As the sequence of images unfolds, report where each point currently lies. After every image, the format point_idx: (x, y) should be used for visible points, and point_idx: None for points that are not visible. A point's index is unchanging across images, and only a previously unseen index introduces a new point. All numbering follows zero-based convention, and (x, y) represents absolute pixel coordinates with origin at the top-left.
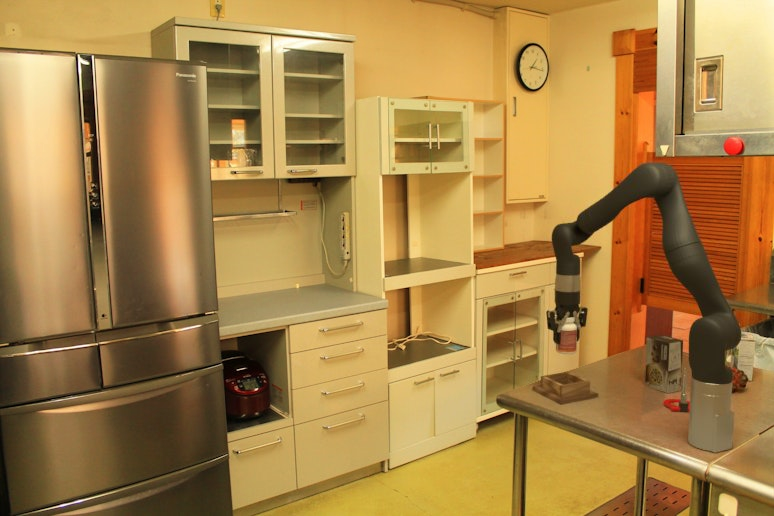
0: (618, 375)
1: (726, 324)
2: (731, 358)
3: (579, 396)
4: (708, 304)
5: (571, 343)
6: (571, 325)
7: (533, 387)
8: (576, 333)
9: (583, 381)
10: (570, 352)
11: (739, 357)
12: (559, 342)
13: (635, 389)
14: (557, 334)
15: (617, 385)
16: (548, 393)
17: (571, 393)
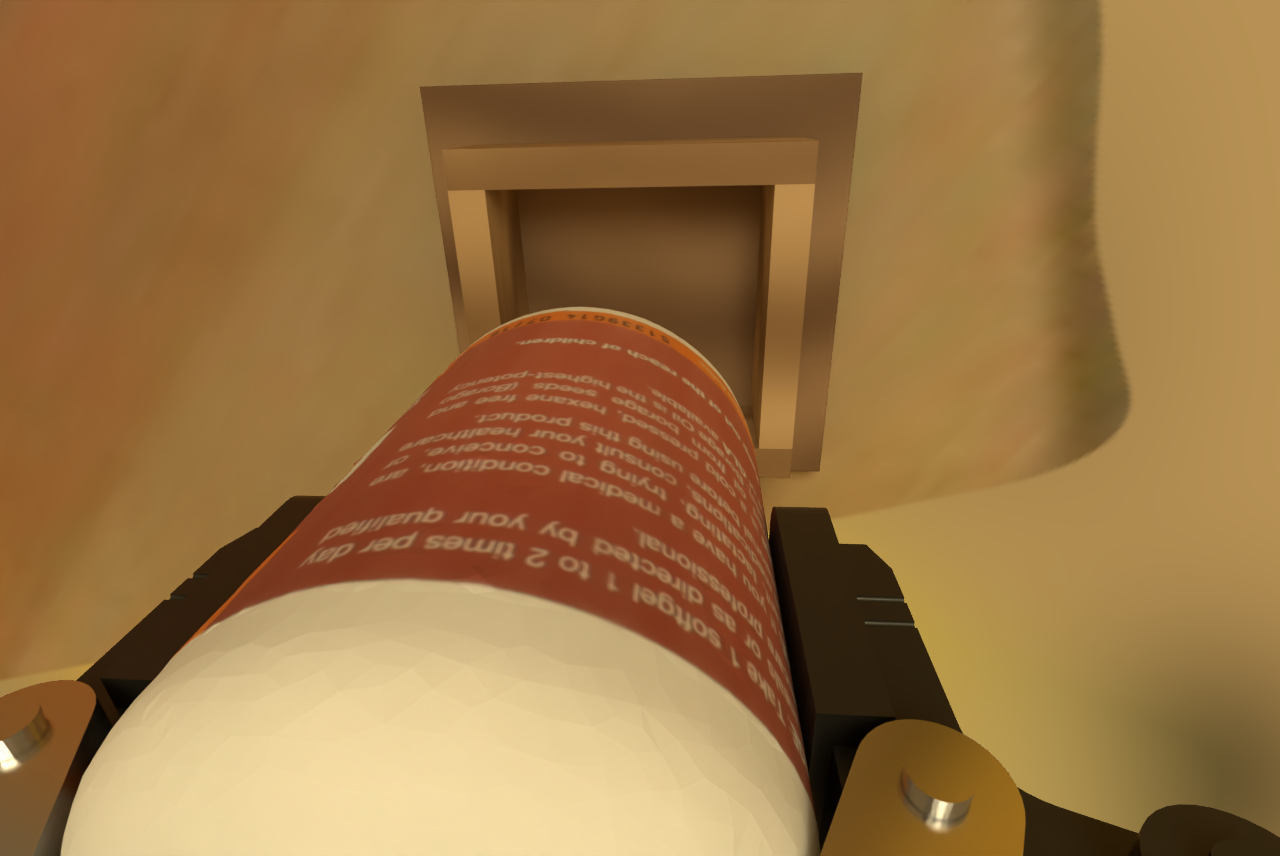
0: (49, 433)
1: None
2: None
3: (629, 96)
4: None
5: (576, 372)
6: (345, 846)
7: (818, 459)
8: (290, 537)
9: (511, 177)
10: (618, 316)
11: None
12: (806, 519)
13: (28, 118)
14: (893, 693)
15: (141, 265)
16: (824, 287)
17: (690, 140)
